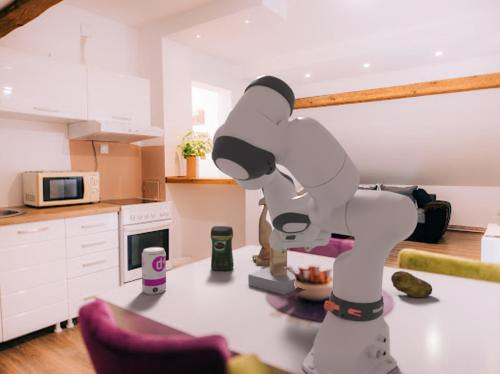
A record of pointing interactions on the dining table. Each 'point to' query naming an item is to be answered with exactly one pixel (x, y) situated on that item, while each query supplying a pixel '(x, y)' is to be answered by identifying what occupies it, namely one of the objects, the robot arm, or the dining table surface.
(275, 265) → the oak block
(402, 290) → the potato
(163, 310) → the dining table surface
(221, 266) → the coffee jar
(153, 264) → the supplement can
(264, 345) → the dining table surface
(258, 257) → the bird sculpture
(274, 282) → the grey stand
